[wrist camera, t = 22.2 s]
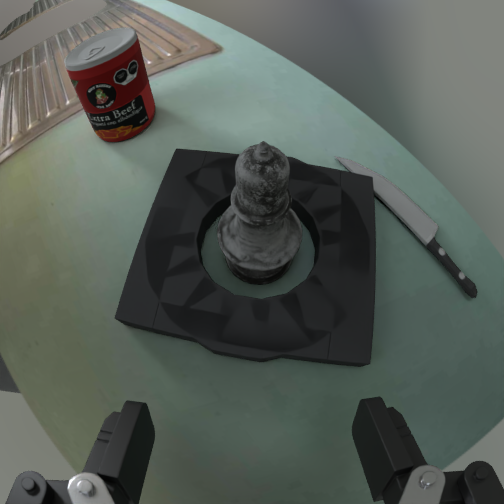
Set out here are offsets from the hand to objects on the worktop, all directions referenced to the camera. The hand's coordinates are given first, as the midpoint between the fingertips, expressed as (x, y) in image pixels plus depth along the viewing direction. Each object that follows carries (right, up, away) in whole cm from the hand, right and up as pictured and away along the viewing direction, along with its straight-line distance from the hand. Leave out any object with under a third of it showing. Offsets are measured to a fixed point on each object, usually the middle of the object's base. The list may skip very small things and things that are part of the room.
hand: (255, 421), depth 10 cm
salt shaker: (0, +6, +15) cm, 16 cm away
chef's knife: (+15, +9, +16) cm, 24 cm away
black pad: (0, +6, +14) cm, 16 cm away
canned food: (-15, +22, +22) cm, 34 cm away
